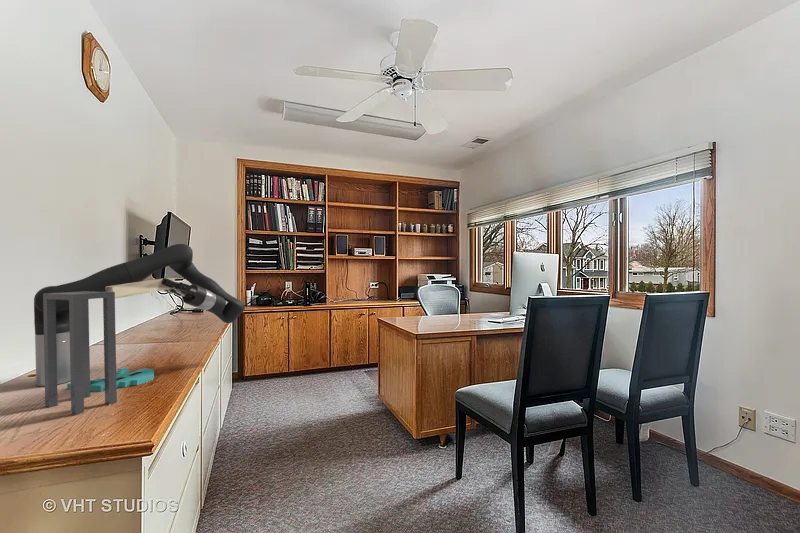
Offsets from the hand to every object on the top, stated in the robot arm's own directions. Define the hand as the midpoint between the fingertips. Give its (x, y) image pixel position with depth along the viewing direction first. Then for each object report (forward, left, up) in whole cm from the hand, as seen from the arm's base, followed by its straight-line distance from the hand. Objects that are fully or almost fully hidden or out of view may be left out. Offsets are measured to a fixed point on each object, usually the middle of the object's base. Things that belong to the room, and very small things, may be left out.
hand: (159, 280), depth 129 cm
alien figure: (-14, -5, -35) cm, 38 cm away
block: (0, -5, -4) cm, 6 cm away
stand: (0, -23, -34) cm, 41 cm away
